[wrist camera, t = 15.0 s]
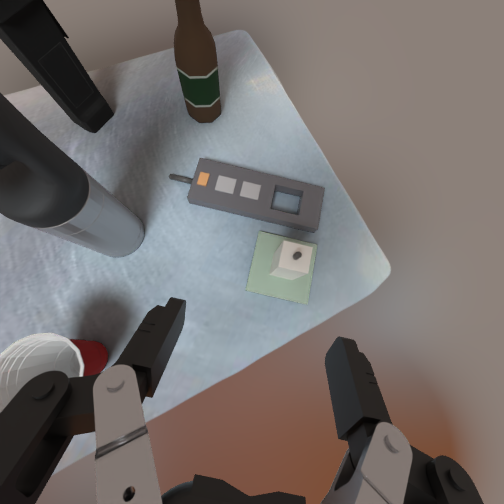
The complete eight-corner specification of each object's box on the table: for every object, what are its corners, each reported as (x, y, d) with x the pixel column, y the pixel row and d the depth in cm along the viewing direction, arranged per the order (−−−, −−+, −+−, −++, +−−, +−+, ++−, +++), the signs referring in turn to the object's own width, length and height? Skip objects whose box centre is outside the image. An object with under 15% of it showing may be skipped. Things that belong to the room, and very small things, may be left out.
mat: (245, 290, 44) (245, 290, 43) (258, 231, 46) (259, 230, 46) (306, 304, 44) (307, 304, 43) (316, 245, 47) (317, 244, 46)
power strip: (163, 196, 47) (158, 189, 44) (176, 158, 49) (172, 149, 46) (313, 232, 47) (318, 228, 44) (320, 193, 49) (325, 186, 46)
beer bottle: (215, 129, 51) (199, -19, 28) (182, 118, 51) (136, -38, 28) (226, 101, 53) (219, -59, 29) (194, 91, 53) (160, -77, 29)
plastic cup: (137, 363, 40) (96, 388, 28) (78, 407, 38) (8, 454, 26) (104, 312, 41) (53, 315, 30) (46, 351, 39) (-34, 372, 28)
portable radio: (96, 96, 51) (-32, -95, 26) (118, 110, 50) (9, -71, 26) (71, 121, 49) (-92, -60, 25) (93, 135, 49) (-49, -34, 24)
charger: (268, 274, 44) (280, 264, 33) (273, 253, 45) (285, 237, 34) (292, 280, 44) (311, 272, 33) (296, 259, 45) (316, 244, 34)
